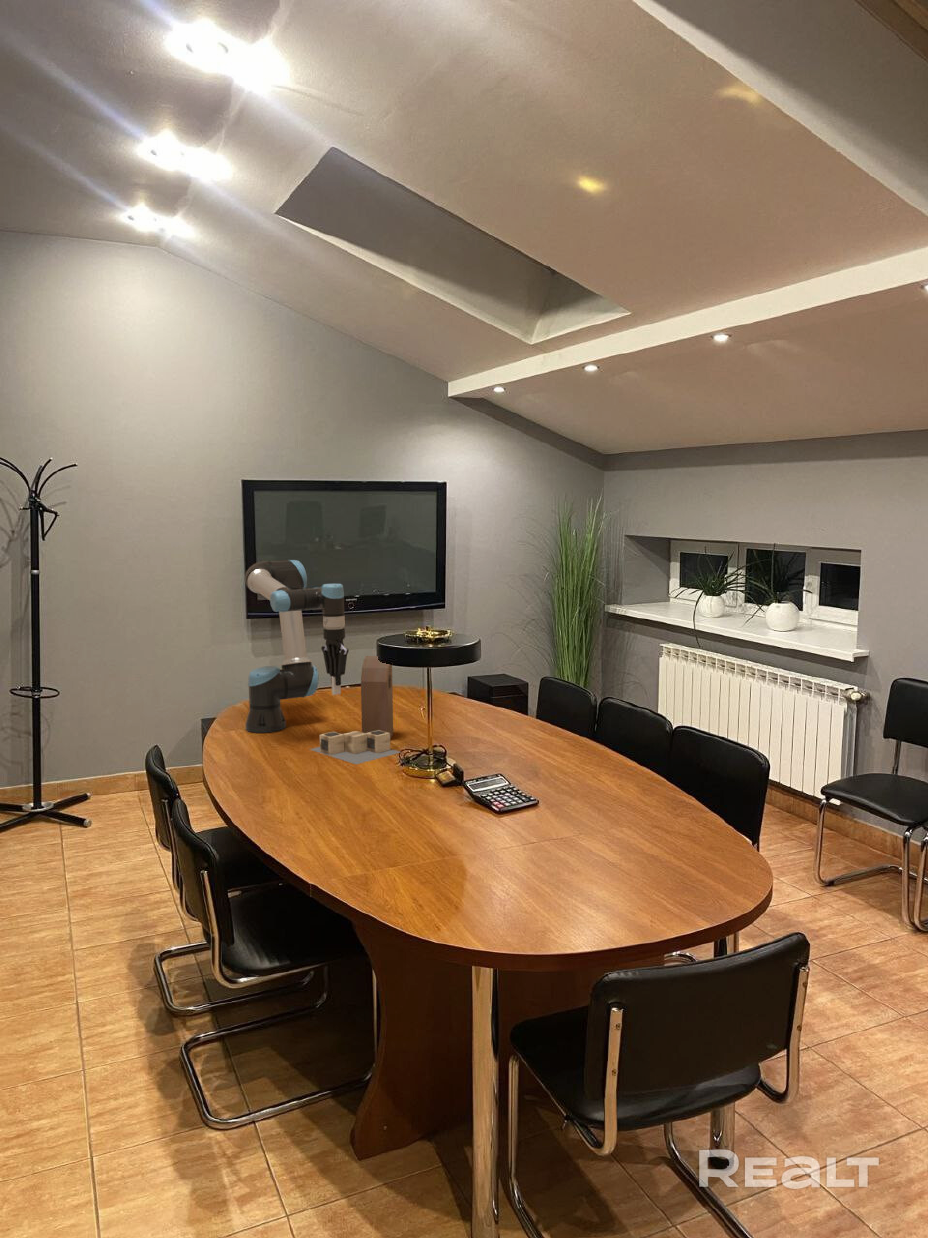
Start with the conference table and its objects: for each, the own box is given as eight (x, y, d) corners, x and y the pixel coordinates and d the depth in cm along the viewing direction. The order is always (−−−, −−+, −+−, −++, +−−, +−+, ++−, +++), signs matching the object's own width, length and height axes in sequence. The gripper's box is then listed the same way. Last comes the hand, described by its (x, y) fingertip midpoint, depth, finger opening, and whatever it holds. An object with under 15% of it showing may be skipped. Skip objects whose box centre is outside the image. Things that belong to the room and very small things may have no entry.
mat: (309, 751, 326) (309, 749, 326) (354, 739, 340) (354, 738, 340) (356, 766, 308) (356, 764, 308) (401, 753, 322) (401, 752, 322)
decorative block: (393, 735, 346) (392, 656, 342) (388, 742, 336) (387, 661, 332) (367, 735, 347) (365, 655, 343) (362, 742, 337) (360, 660, 333)
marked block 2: (365, 750, 324) (364, 732, 324) (379, 746, 329) (378, 729, 328) (376, 753, 320) (376, 735, 319) (390, 749, 325) (389, 732, 324)
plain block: (343, 750, 324) (342, 734, 323) (356, 747, 328) (356, 730, 327) (353, 754, 320) (353, 737, 319) (367, 750, 324) (367, 733, 323)
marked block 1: (319, 751, 323) (318, 734, 322) (333, 748, 327) (333, 730, 326) (329, 755, 319) (329, 737, 318) (344, 751, 323) (343, 733, 322)
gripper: (314, 627, 327) (316, 693, 330) (336, 630, 318) (339, 698, 321) (331, 625, 332) (333, 690, 335) (354, 628, 323) (356, 695, 326)
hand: (336, 694), depth 328 cm, fingers closed
